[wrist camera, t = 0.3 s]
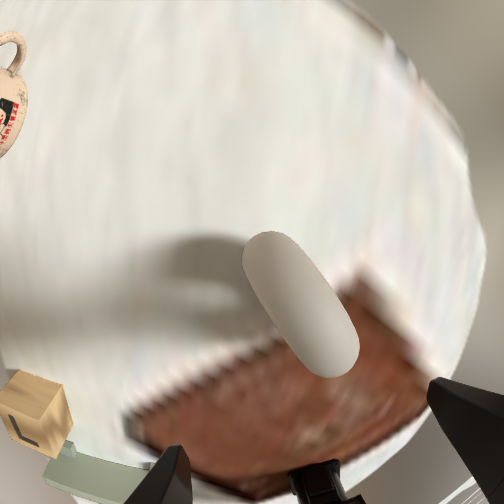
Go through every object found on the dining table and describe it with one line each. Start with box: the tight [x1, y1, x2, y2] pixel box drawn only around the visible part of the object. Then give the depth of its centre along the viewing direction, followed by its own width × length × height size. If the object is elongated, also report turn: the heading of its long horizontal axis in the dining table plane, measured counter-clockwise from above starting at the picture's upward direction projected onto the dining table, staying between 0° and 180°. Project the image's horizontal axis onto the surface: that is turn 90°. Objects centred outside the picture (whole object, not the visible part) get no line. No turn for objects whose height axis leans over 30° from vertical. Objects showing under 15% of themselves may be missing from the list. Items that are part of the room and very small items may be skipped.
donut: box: [242, 231, 360, 378], centre depth 17 cm, size 10×4×10 cm, turn 33°
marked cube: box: [0, 370, 73, 459], centre depth 20 cm, size 6×6×6 cm
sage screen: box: [42, 440, 155, 504], centre depth 22 cm, size 6×16×6 cm, turn 82°
